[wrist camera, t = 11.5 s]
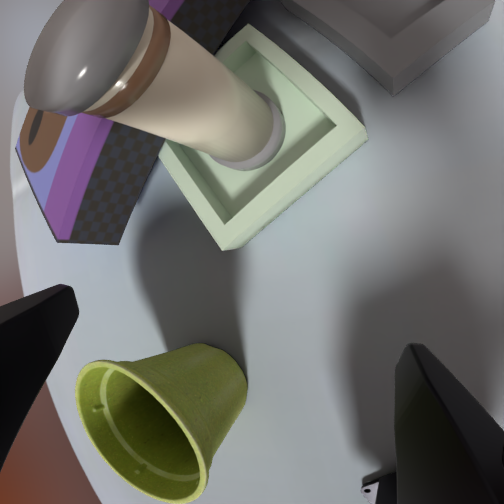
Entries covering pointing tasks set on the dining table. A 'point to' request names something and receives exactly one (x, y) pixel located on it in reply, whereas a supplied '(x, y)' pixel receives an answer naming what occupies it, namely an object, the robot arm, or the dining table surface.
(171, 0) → the cereal box
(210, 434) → the plant pot
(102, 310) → the dining table surface
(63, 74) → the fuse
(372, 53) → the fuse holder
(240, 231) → the parts tray
